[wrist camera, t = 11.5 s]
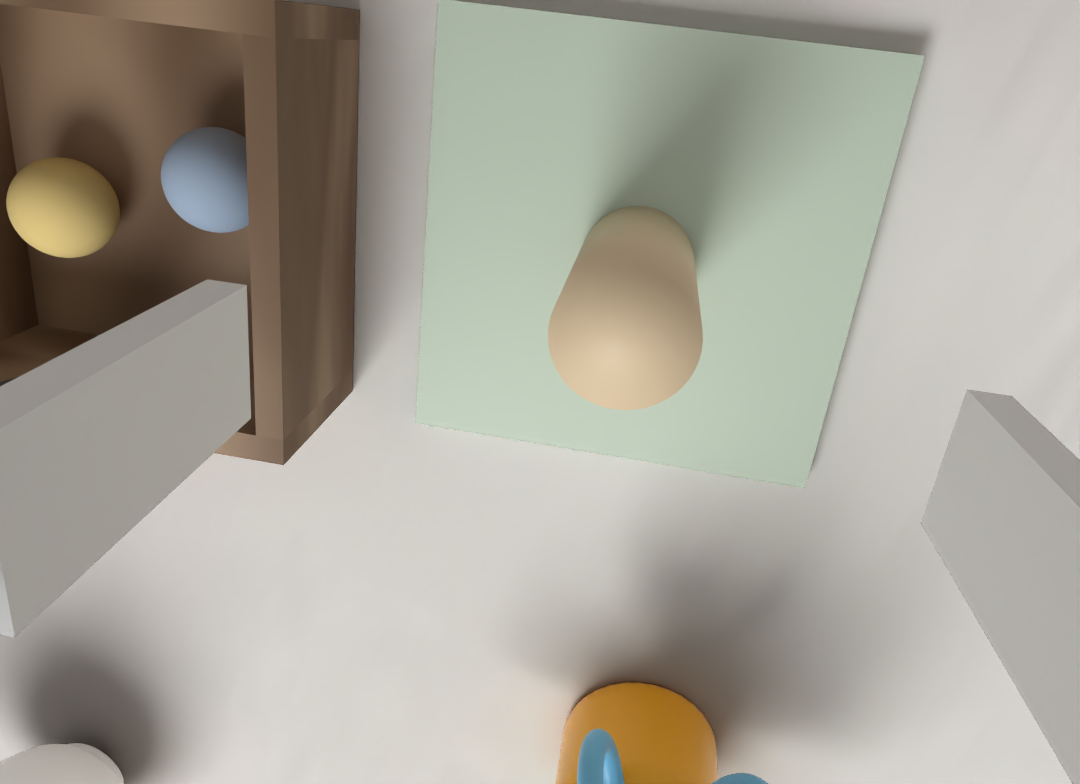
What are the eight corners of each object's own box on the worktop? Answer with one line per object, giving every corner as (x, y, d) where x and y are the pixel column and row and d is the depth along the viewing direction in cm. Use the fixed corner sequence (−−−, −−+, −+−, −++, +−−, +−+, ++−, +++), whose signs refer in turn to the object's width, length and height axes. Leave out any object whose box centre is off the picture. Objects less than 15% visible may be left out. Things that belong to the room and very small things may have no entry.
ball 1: (58, 238, 27) (-10, 260, 24) (47, 145, 26) (-27, 157, 23) (143, 252, 27) (84, 275, 24) (135, 158, 26) (71, 171, 23)
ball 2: (198, 215, 26) (143, 234, 23) (193, 116, 25) (133, 124, 22) (288, 228, 26) (243, 249, 23) (287, 129, 24) (239, 139, 22)
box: (31, 337, 29) (-102, 398, 24) (-26, -37, 24) (-206, -59, 19) (352, 390, 28) (283, 464, 23) (359, 9, 23) (274, 0, 18)
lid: (424, 408, 29) (337, 535, 21) (448, 0, 23) (344, -23, 16) (799, 470, 27) (847, 628, 20) (912, 55, 22) (1034, 57, 15)
